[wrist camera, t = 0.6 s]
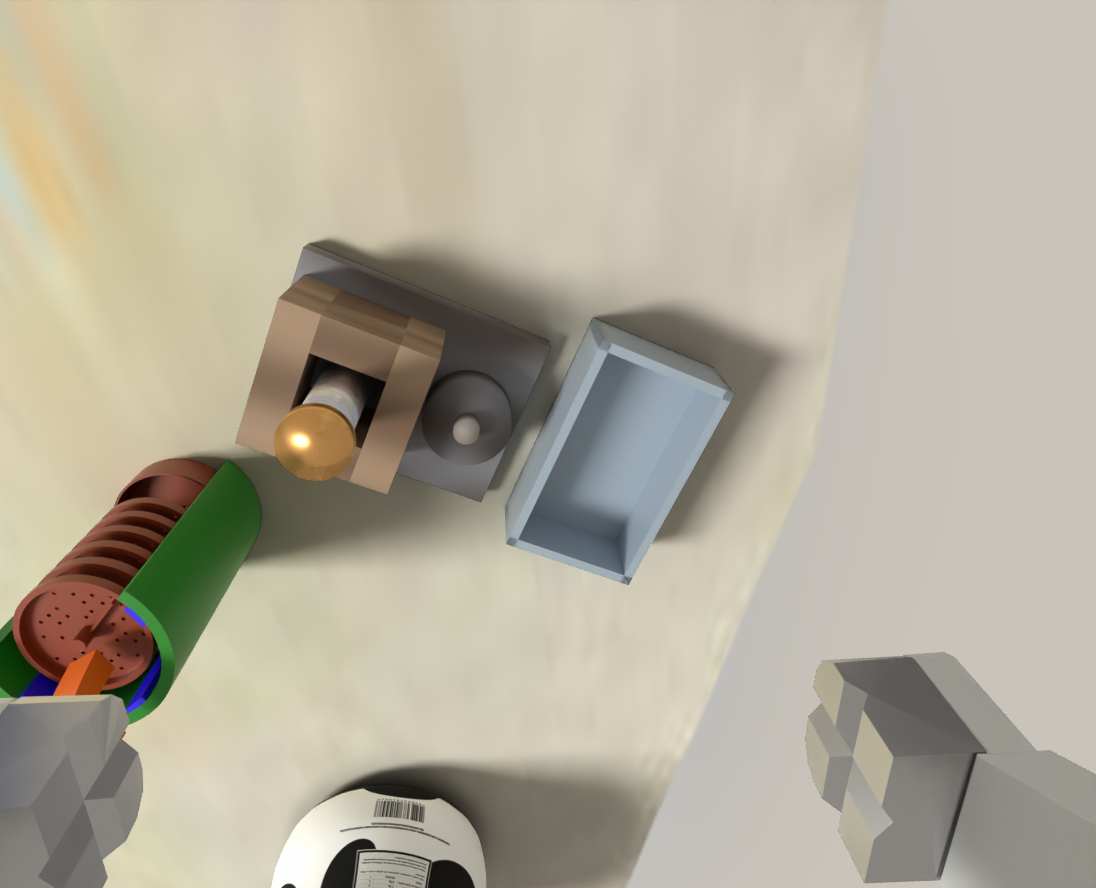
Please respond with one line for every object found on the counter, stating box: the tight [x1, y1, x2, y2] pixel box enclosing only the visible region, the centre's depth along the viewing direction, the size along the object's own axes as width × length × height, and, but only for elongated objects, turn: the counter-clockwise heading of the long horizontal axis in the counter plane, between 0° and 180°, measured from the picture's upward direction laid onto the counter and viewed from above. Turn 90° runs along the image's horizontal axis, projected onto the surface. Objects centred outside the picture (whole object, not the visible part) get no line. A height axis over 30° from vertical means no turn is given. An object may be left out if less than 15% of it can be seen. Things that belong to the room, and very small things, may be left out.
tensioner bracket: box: [235, 243, 551, 502], centre depth 47 cm, size 12×16×8 cm
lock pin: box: [273, 361, 376, 481], centre depth 43 cm, size 4×4×12 cm
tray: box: [505, 318, 735, 585], centre depth 51 cm, size 15×9×5 cm, turn 157°
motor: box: [0, 459, 261, 739], centre depth 45 cm, size 10×9×20 cm
